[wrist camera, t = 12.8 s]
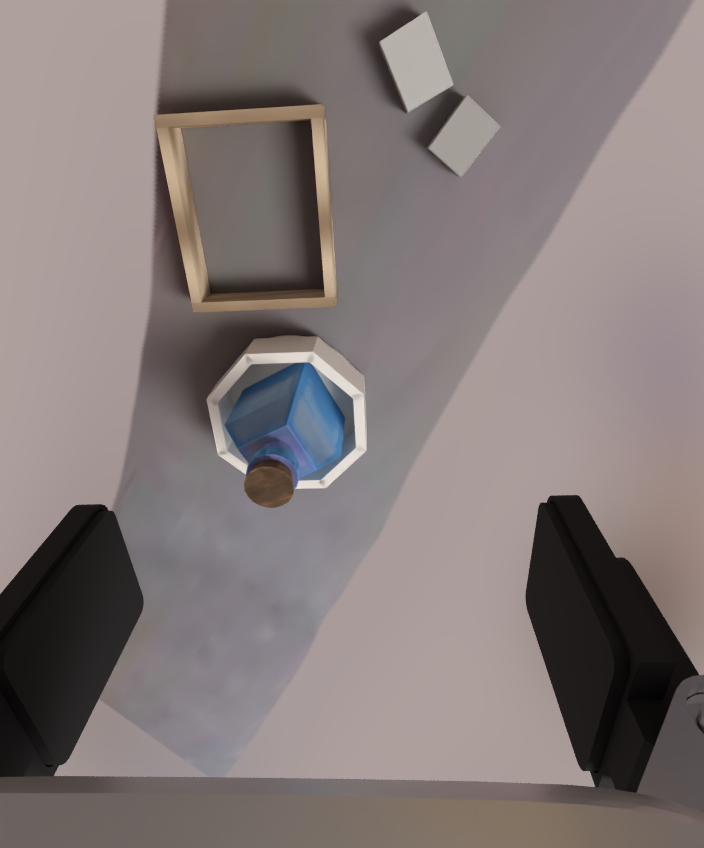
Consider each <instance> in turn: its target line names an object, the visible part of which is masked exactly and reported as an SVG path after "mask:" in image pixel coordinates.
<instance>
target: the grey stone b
mask: <svg viewBox="0 0 704 848" xmlns="http://www.w3.org/2000/svg"><path fill="white" fill-rule="evenodd" d="M500 127H501V126H500V125H498V124H497V123H496V122H495V121H494V120H493V119H492V118H491V117H490V116H489V115H488V114H487V113H486V112H485V111H484V110H483V109H482V108H481V107H480V106H479V105H478V104H477V103H476V102H474V101H473V100H472V99H471V98H470V97H469V96H468V95H466V96H464V97H463V98H462V100H461V101H460V102H459V104H458V105H457V107H456V108H455V109H454V111H453V112H452V113H451V115H450V116H449V118H448V119H447V120H446V122H445V123H444V124H443V126H442V127H441V129H440V130H439V131H438V133H437V134H436V135H435V137H434V138H433V140H432V141H431V142H430V144H429V145H428V146H427V149H428V150H429V151H430V152H431V153H433V154H434V155H435V156H436V157H437V158H438V159H439V160H440V161H441V162H443V163H444V164H445V165H446V166H447V167H448V168H449V169H450V170H452V171H453V172H454V173H455V174H456V175H457V176H459V177H462V176H463V174H464V173H465V172H466V170H467V169H468V168H469V167H470V165H471V164H472V163H473V161H474V160H475V159H476V158H477V156H478V155H479V154H480V152H481V151H482V150H483V149H484V147H485V146H486V145H487V143H488V142H489V141H490V140H491V138H492V137H493V136H494V134H495V133H496V132H497V131H498V129H499V128H500Z"/></svg>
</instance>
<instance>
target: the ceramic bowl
mask: <svg viewBox="0 0 704 848" xmlns="http://www.w3.org/2000/svg"><path fill="white" fill-rule="evenodd" d="M302 362H310V363H311V364H312V365H313V366H314V368H315V370H316V371H317V373H318V374H319V376H320V378H321V379H322V381H323V383H324V384H325V386H326V387H327V389H328V391H329V392H330V394H331V395H332V397H333V399H334V400H335V402H336V404H337V405H338V407H339V408H340V410H341V412H342V413H343V415H344V417H345V424H344V433H343V442H342V452H341V457H339V458H338V459H336V460H334V461H332V462H331V463H329V464H327V465H325V466H323V467H322V468H320V469H318V470H316V471H314V472H311V473H309V474H307V475H305V476H302V477H300V478H299V481H298V484H297V487H296V488H295V489H303V488H326V487H327V486H328V485H329V484H331V483H332V482H333V481H334V480H335V479H336V478H337V477H338V476H339V475H340V474H342V473H343V472H344V471H345V470H346V469H347V468H348V467H349V466H350V465H351V464H352V463H354V462H355V461H356V460H357V459H358V458H359V457H360V456H361V455H362V454H363V453H364V452H366V443H367V425H366V399H365V380H364V376H363V375H362V374H361V373H360V372H359V371H357V370H356V369H355V368H354V367H353V366H352V364H351V363H350V362H349V361H348V360H347V359H346V358H345V357H344V356H343V355H342V354H341V353H340V352H338V351H337V350H336V349H334V348H333V347H331V346H329V345H328V344H326V343H325V342H324V341H322V340H321V339H320V338H319V337H318V336H312V337H305V336H299V335H282V336H275V337H271V338H259V339H254V340H253V341H252V342H251V343H250V345H249V346H248V347H247V348H246V349H245V350H244V352H243V353H242V354H241V355H240V356H239V357H238V358H237V359H236V361H235V362H234V363H233V365H232V366H231V367H230V368H229V369H228V370H227V372H226V373H225V374H224V375H223V376H222V378H221V379H220V380H219V381H218V382H217V384H216V385H215V387H214V388H213V390H212V391H211V393H210V394H209V396H208V397H207V404H208V409H209V414H210V419H211V423H212V428H213V433H214V438H215V443H216V448H217V452H218V455H219V456H221V457H222V458H223V459H225V460H226V461H228V462H229V463H230V464H232V465H233V466H235V467H236V468H237V469H239V470H240V471H242V472H243V473H244V474H246V471H247V467H248V462H247V461H246V460H245V458H244V457H243V456H242V454H241V453H240V452H239V450H238V449H237V447H236V445H235V444H234V442H233V440H232V438H231V436H230V435H229V433H228V431H227V429H226V428H225V426H224V425H225V423H226V421H227V419H228V417H229V415H230V413H231V412H232V410H233V408H234V406H235V404H236V402H237V400H238V399H239V397H240V395H241V393H242V391H243V389H245V388H247V387H249V386H251V385H253V384H255V383H257V382H259V381H261V380H263V379H265V378H267V377H268V376H270V375H272V374H274V373H276V372H278V371H280V370H282V369H284V368H286V367H288V366H290V365H292V364H294V363H302Z"/></svg>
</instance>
